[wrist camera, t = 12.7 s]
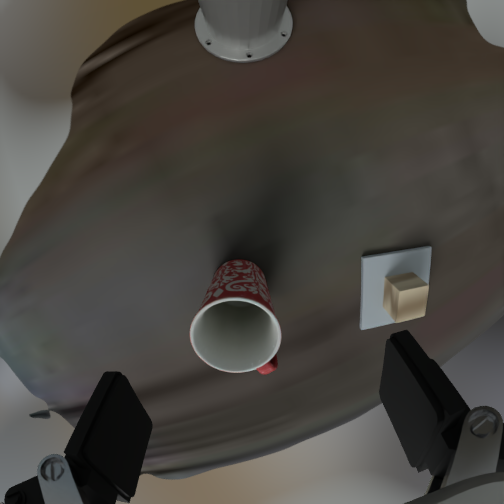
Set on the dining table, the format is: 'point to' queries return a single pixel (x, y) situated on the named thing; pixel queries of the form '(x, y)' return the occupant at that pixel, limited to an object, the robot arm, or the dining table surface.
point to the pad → (375, 273)
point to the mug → (237, 321)
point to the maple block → (405, 296)
